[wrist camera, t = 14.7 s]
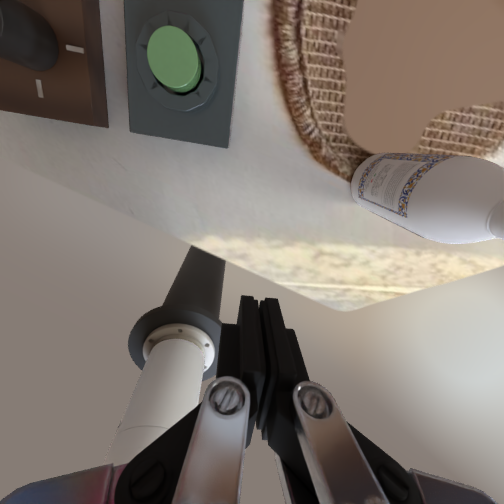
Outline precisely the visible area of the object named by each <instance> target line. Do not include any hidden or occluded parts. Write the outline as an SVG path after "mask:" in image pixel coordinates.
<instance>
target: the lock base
mask: <svg viewBox="0 0 504 504" xmlns="http://www.w3.org/2000/svg"><path fill="white" fill-rule="evenodd" d="M19 1H21V2H22V3H24V4H25V5H27V6H28V7H30V8H31V9H33V10H34V11H36V12H37V13H39V14H40V15H41V16H42V17H43V18H44V19H45V20H46V21H47V22H48V23H49V25H50V26H51V28H52V29H53V31H54V33H55V36H56V38H57V42H58V49H59V52H58V58H57V61H56V63H55V64H54V66H53V67H51V68H50V69H48V70H45V71H36V70H32V69H30V68H27V67H24V66H22V65H19V64H16V63H13V62H11V61H8V60H5V59H3V58H0V110H3V111H8V112H14V113H20V114H26V115H32V116H38V117H44V118H50V119H56V120H62V121H68V122H73V123H79V124H85V125H91V126H98V127H105V128H109V126H108V113H107V100H106V87H105V74H104V62H103V49H102V36H101V23H100V10H99V0H19Z"/></svg>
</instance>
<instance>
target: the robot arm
mask: <svg viewBox="0 0 504 504" xmlns="http://www.w3.org/2000/svg"><path fill="white" fill-rule="evenodd" d="M214 354H215V348H214V344H213V342H212V340H211V339H210V337H209V336H208V335H207V334H206V333H205V332H203V331H202V330H200V329H198V328H196V327H194V326H191V325H187V324H180V323H177V324H167V325H164V326H161V327H159V328H157V329H155V330H154V331H152V332H151V333H150V334H149V336H148V337H147V339H146V341H145V343H144V346H143V356H144V359H145V361H146V364H145V366H144V368H143V371H142V373H141V375H140V378H139V380H138V382H137V384H136V387H135V389H134V391H133V394H132V396H131V398H130V401H129V403H128V406H127V408H126V410H125V412H124V415H123V417H122V420H121V422H120V424H119V426H118V429H117V431H116V433H115V435H114V438H113V440H112V442H111V444H110V447H109V449H108V452H107V454H106V457H105V460H104V465H103V466H99V467H95V468H91V469H87V470H83V471H78V472H74V473H70V474H66V475H62V476H58V477H54V478H50V479H46V480H41V481H37V482H33V483H30V484H27V485H25V486H22V487H20V488H17V489H16V490H14V491H13V492H12V493H10V494H9V495H7V496H6V497H5V498H3V499H2V500H1V501H0V504H239V503H240V493H241V483H242V475H243V465H244V456H245V449H246V448H247V447H248V446H249V444H250V441H251V437H252V433H253V429H254V425H255V421H256V427H257V429H261V432H262V440H268V445H269V446H270V447H271V448H272V449H273V450H274V451H275V461H276V466H277V470H278V474H279V478H280V482H281V486H282V491H283V495H284V499H285V503H286V504H497V503H496V502H495V501H494V500H493V499H492V498H491V497H490V496H488V495H487V494H485V493H484V492H483V491H481V490H479V489H477V488H474V487H472V486H469V485H465V484H462V483H459V482H455V481H452V480H449V479H445V478H442V477H439V476H435V475H432V474H429V473H425V472H422V471H419V470H415V469H412V468H410V470H409V471H406V470H405V469H404V468H402V466H400V465H399V463H398V462H396V461H395V460H394V459H393V458H391V457H390V456H389V455H388V454H386V453H385V452H384V451H383V450H381V449H380V448H379V447H378V446H376V445H375V444H374V443H373V442H371V441H370V440H369V439H368V438H366V437H365V436H364V435H363V434H362V433H360V432H359V431H358V430H357V429H355V428H354V427H353V426H352V425H350V424H349V423H348V422H347V421H346V420H345V418H344V416H343V414H342V412H341V410H340V409H339V406H338V405H337V403H336V401H335V399H334V398H333V396H332V394H331V393H330V392H329V391H328V390H327V389H326V388H325V387H323V386H322V385H320V384H318V383H316V382H313V381H310V380H309V377H308V373H307V370H306V367H305V364H304V361H303V357H302V354H301V351H300V348H299V344H298V341H297V337H296V335H295V332H294V330H293V329H286V328H285V325H284V321H283V317H282V313H281V309H280V306H279V302H278V299H276V298H265V300H264V301H263V300H261V301H260V305H259V306H258V300H254V297H253V296H244V295H242V296H241V300H240V306H239V313H238V319H237V324H225V323H222V327H221V335H220V344H219V353H218V363H217V373H216V380H214V381H212V382H211V383H210V384H209V385H208V387H207V389H206V391H205V394H204V397H203V400H202V402H201V403H200V404H199V405H198V401H199V395H200V389H201V382H202V376H203V372H205V371H206V370H207V369H208V368H209V367H210V366H211V364H212V362H213V360H214Z"/></svg>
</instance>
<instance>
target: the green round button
mask: <svg viewBox="0 0 504 504" xmlns="http://www.w3.org/2000/svg"><path fill="white" fill-rule="evenodd" d="M147 58H148V63H149V66H150V68H151V70H152V72H153V74H154V75H155V77H156V78H157V79H158V80H159V81H160V82H161V83H163V84H164V85H165V86H166V87H168V88H169V89H171V90H173V91H175V92H187V91H189V90H191V89H193V88H194V87H195V86H196V84H197V83H198V81H199V79H200V75H201V61H200V57H199V54H198V52H197V50H196V48H195V45H194V43H193V41H192V40H191V38H190V37H189V36H188V35H187V33H185V32H184V31H183V30H181V29H180V28H178V27H175V26H163V27H160V28H158V29H157V30H156V31H155V32H154V33H153V34H152V35H151V37H150V39H149V42H148V46H147Z"/></svg>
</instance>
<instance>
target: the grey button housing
mask: <svg viewBox="0 0 504 504" xmlns="http://www.w3.org/2000/svg"><path fill="white" fill-rule="evenodd" d="M243 14H244V0H124V18H125V39H126V61H127V82H128V104H129V125H130V132H132V133H138V134H144V135H150V136H156V137H162V138H168V139H174V140H180V141H186V142H192V143H197V144H203V145H209V146H215V147H221V148H229V146H230V137H231V127H232V118H233V109H234V100H235V90H236V81H237V72H238V62H239V53H240V44H241V35H242V25H243ZM163 26H175V27H178V28H180V29H181V30H183V31H184V32H185V33H187V35H188V36H189V37H190V38H191V40H192V41H193V43H194V45H195V48H196V50H197V52H198V54H199V57H200V61H201V75H200V79H199V81H198V83H197V84H196V86H195V87H194V88H193V89H191V90H189V91H187V92H175V91H173V90H171V89H169V88H168V87H166V86H165V85H164V84H163V83H161V82H160V81H159V80H158V79H157V78H156V77H155V75H154V74H153V72H152V70H151V68H150V66H149V63H148V58H147V46H148V42H149V39H150V37H151V35H152V34H153V33H154V32H155V31H156V30H157V29H158V28H160V27H163Z"/></svg>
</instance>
